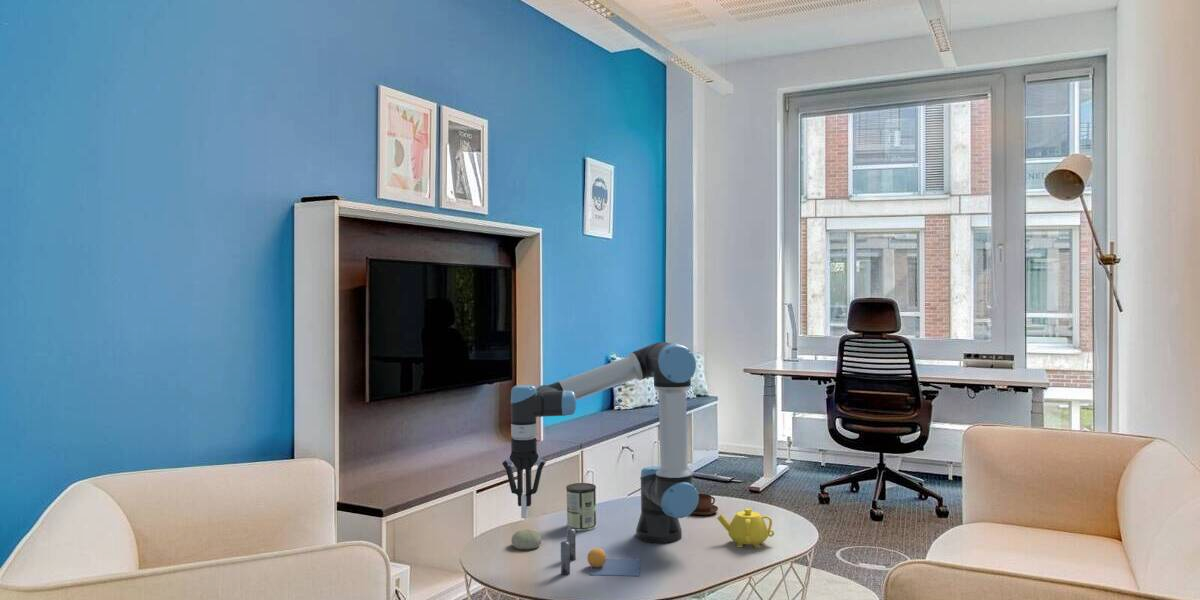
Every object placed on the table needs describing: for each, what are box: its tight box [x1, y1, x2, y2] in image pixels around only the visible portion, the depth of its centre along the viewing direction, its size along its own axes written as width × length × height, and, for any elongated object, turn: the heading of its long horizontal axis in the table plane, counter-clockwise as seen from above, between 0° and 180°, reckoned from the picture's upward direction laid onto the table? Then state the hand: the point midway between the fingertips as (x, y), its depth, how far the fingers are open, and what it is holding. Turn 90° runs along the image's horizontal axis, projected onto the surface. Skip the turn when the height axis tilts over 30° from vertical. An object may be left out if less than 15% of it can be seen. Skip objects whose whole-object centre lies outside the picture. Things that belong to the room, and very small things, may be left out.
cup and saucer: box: [691, 493, 719, 516], centre depth 290 cm, size 12×12×6 cm
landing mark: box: [589, 557, 642, 577], centre depth 232 cm, size 14×14×1 cm
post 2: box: [566, 528, 577, 562], centre depth 239 cm, size 3×3×9 cm
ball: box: [587, 547, 607, 568], centre depth 232 cm, size 6×6×6 cm
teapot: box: [716, 507, 775, 548], centre depth 253 cm, size 14×14×11 cm
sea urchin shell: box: [511, 529, 542, 550], centre depth 252 cm, size 9×8×8 cm
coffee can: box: [565, 482, 597, 532], centre depth 273 cm, size 10×10×14 cm
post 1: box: [560, 540, 571, 576], centre depth 227 cm, size 3×3×9 cm
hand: (524, 516), depth 234 cm, fingers closed
